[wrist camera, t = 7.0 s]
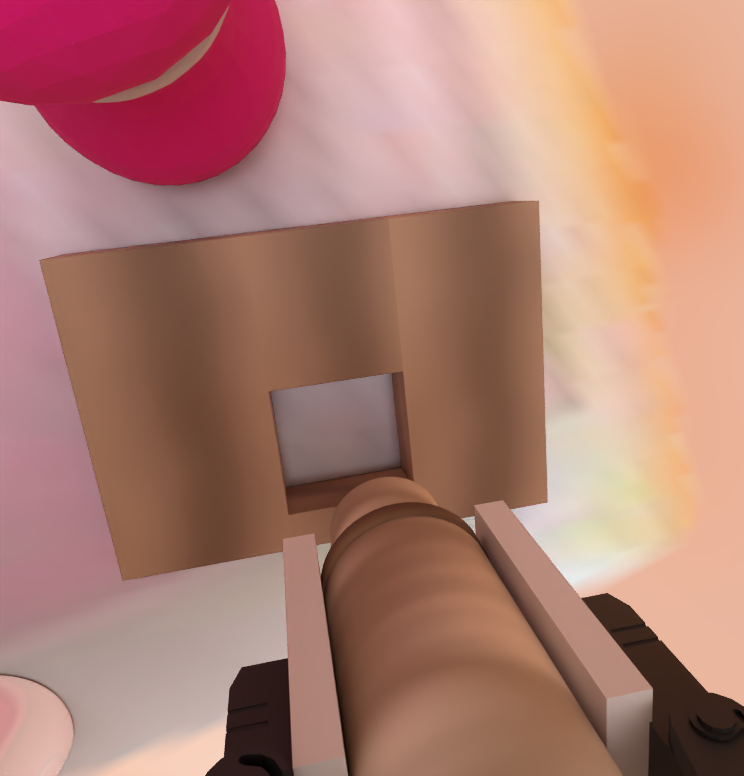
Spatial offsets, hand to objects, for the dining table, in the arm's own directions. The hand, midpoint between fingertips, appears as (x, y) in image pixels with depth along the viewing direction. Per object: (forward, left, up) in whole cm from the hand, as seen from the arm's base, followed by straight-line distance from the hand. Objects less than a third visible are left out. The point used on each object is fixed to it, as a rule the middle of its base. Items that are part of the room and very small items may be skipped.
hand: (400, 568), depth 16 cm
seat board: (-1, +2, -11) cm, 11 cm away
